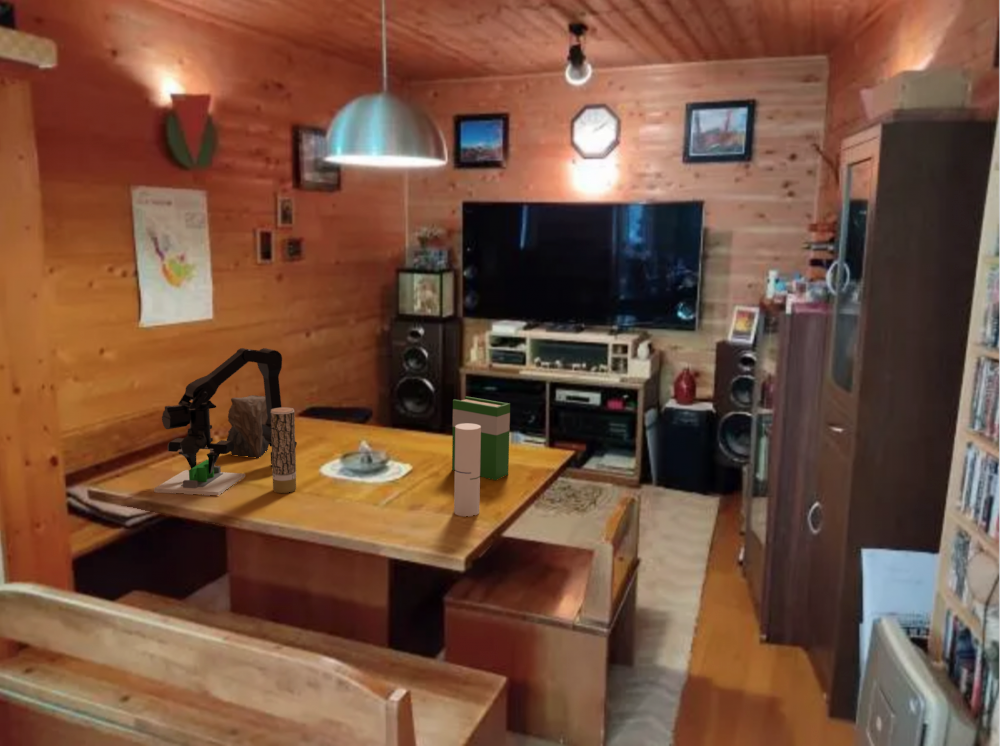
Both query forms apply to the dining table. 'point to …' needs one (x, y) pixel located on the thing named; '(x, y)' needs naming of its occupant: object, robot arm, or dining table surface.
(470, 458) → the cylindrical container
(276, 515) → the dining table surface
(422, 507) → the dining table surface
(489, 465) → the hardback book
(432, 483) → the dining table surface
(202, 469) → the green angled block
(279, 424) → the bark textured cylinder
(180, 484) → the door panel
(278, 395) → the robot arm
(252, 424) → the grey brown rock block
